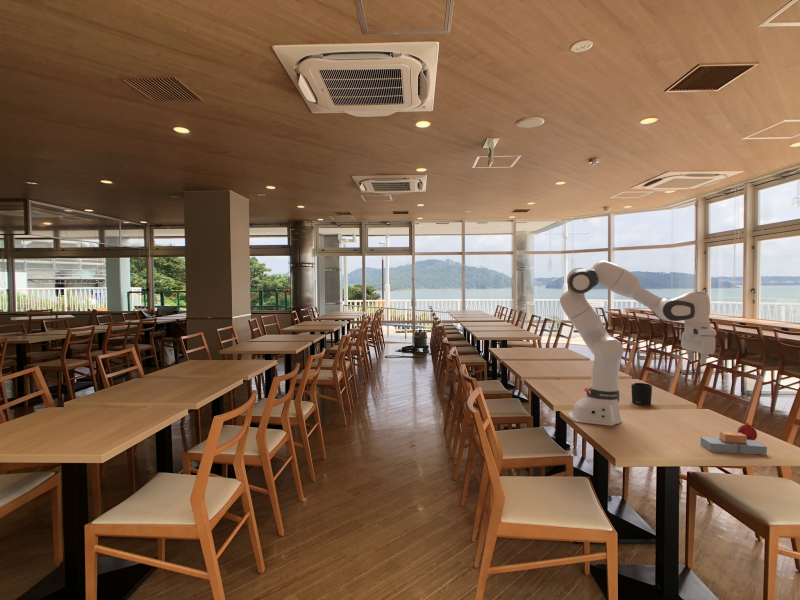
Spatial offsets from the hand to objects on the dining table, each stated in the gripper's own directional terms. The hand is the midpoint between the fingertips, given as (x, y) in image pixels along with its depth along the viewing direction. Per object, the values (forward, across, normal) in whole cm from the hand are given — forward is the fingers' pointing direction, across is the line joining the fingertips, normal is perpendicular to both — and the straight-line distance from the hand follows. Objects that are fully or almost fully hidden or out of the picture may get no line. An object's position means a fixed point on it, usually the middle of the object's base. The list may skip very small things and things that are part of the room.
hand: (696, 361), depth 174 cm
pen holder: (+29, -42, -6) cm, 52 cm away
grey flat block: (+29, +22, +2) cm, 36 cm away
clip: (+29, +22, +2) cm, 36 cm away
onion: (+29, +13, +12) cm, 34 cm away
